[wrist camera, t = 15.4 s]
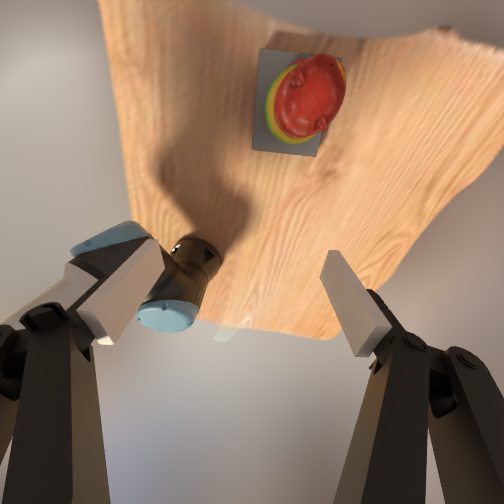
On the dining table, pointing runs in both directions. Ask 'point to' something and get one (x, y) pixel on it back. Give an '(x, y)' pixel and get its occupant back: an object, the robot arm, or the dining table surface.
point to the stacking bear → (305, 98)
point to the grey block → (267, 73)
